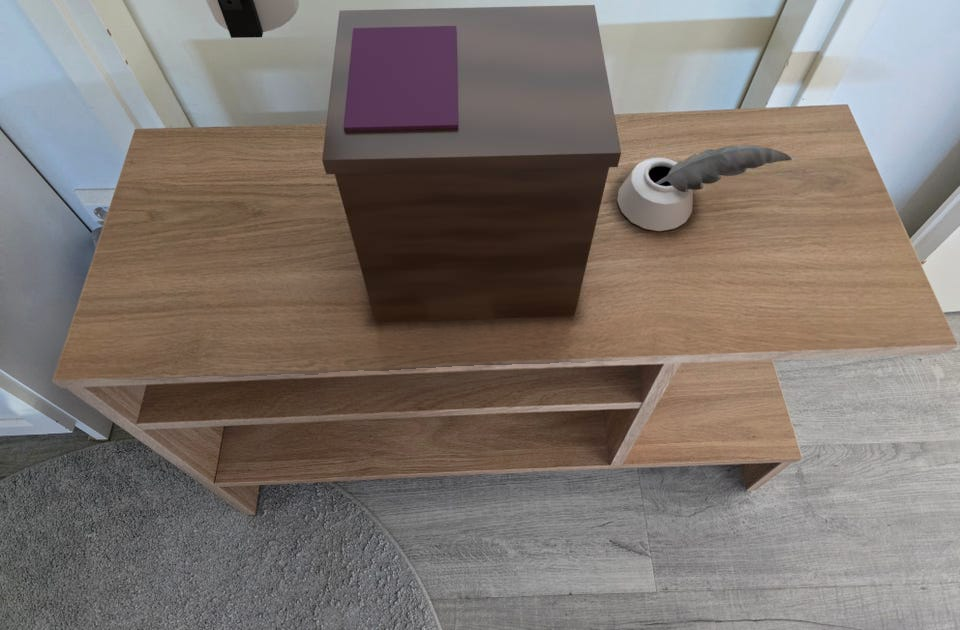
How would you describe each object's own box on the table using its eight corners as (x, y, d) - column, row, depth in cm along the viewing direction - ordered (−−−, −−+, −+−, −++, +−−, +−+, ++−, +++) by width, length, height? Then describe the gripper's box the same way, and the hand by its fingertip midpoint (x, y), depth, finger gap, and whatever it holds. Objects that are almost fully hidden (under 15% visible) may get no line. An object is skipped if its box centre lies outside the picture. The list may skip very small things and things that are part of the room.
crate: (579, 320, 75) (621, 153, 52) (370, 326, 75) (322, 160, 52) (564, 193, 84) (594, 4, 61) (378, 198, 84) (339, 10, 61)
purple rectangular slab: (458, 128, 54) (458, 124, 53) (344, 131, 54) (343, 127, 53) (456, 29, 60) (456, 25, 59) (353, 31, 60) (353, 27, 59)
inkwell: (613, 173, 85) (628, 113, 77) (756, 174, 85) (787, 113, 77) (620, 232, 81) (636, 175, 72) (772, 233, 81) (806, 175, 72)
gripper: (177, -253, 37) (281, 81, 57) (238, -383, 48) (308, -65, 67) (38, -252, 37) (190, 82, 57) (131, -382, 48) (232, -64, 67)
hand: (254, 2), depth 62 cm, fingers closed on cup, 8 cm apart
